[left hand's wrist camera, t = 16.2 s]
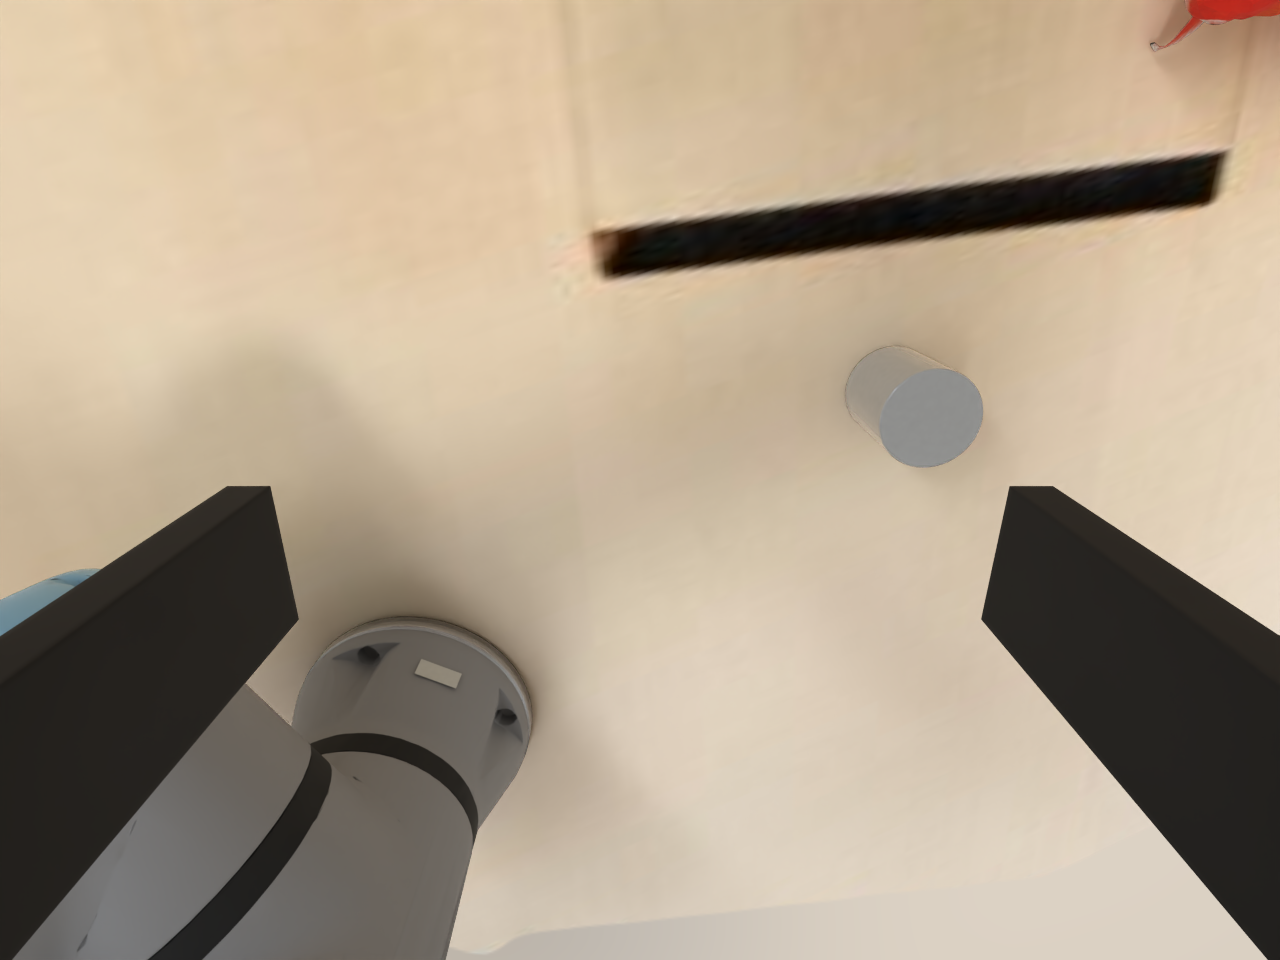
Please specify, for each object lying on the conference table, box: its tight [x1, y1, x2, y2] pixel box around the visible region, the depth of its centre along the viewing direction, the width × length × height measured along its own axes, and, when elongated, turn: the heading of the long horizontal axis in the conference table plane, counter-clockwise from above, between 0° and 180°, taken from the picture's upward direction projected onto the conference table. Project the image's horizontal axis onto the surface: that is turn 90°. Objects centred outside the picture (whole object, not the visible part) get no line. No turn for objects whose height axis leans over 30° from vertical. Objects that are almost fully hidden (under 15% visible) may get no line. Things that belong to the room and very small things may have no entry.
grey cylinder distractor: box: [845, 346, 983, 468], centre depth 36 cm, size 5×5×6 cm
